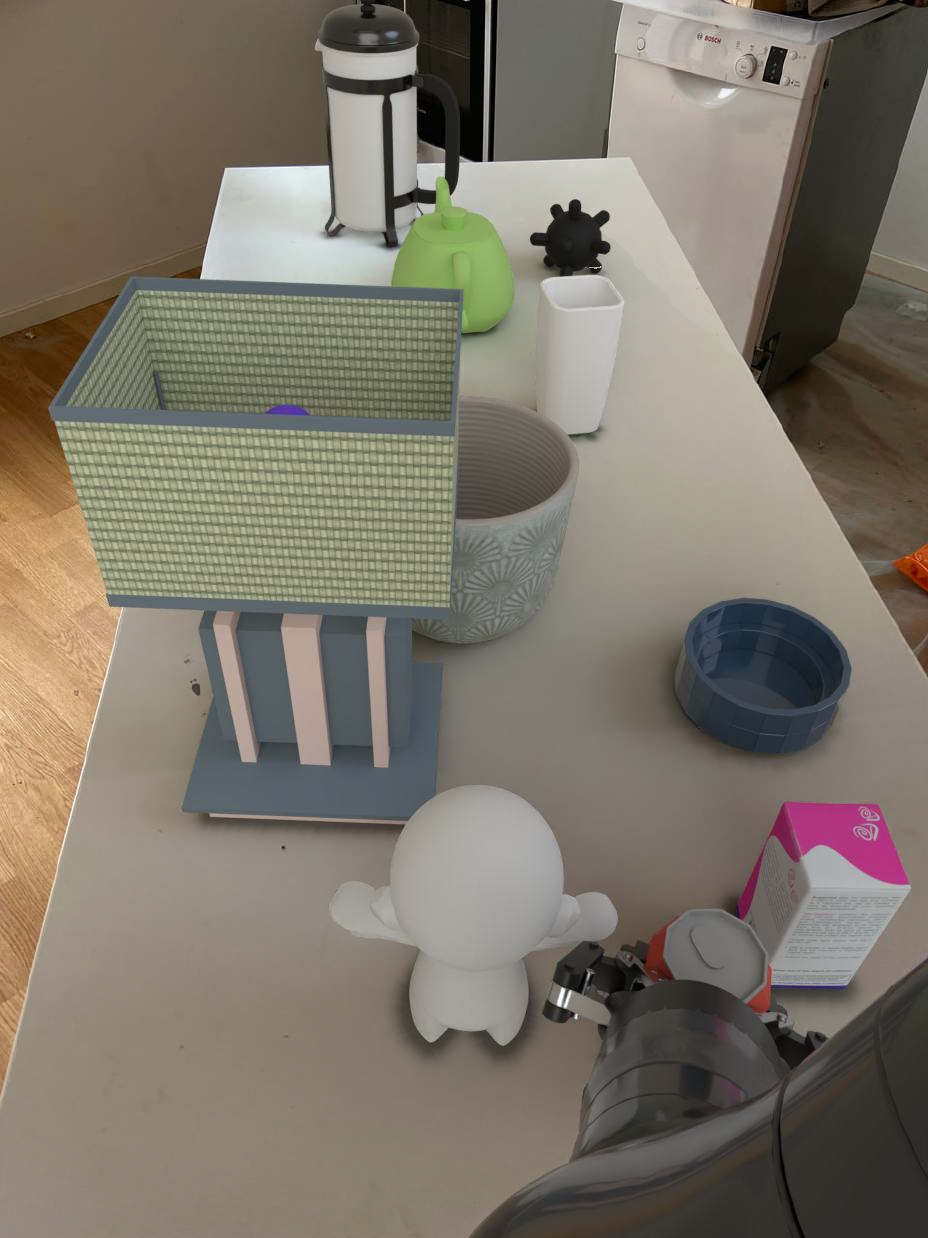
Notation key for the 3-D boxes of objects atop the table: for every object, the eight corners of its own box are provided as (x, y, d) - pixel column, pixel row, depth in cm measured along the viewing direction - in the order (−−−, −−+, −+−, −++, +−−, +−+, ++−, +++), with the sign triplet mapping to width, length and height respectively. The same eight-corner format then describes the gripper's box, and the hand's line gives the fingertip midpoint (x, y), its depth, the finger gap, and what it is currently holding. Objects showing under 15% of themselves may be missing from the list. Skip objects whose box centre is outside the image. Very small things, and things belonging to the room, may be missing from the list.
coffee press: (339, 258, 133) (323, 3, 112) (313, 213, 143) (294, -26, 123) (459, 244, 137) (465, -4, 116) (425, 202, 148) (425, -32, 127)
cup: (542, 445, 101) (555, 311, 91) (525, 408, 106) (536, 277, 96) (609, 439, 102) (629, 306, 92) (589, 403, 107) (606, 272, 97)
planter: (385, 692, 76) (378, 540, 65) (345, 556, 87) (334, 408, 77) (589, 654, 79) (614, 504, 69) (524, 528, 91) (537, 383, 80)
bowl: (857, 692, 77) (878, 648, 73) (786, 787, 70) (805, 743, 67) (721, 621, 82) (734, 577, 79) (643, 702, 76) (654, 657, 72)
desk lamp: (452, 685, 76) (463, 286, 54) (444, 839, 66) (454, 427, 43) (219, 676, 76) (132, 274, 54) (176, 829, 66) (45, 411, 43)
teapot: (385, 275, 129) (381, 173, 120) (496, 272, 131) (501, 170, 122) (398, 357, 113) (396, 246, 104) (525, 352, 115) (533, 242, 106)
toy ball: (634, 243, 131) (624, 254, 121) (572, 292, 136) (556, 307, 126) (588, 176, 129) (573, 181, 119) (527, 228, 134) (507, 238, 124)
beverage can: (691, 988, 59) (735, 882, 51) (747, 1092, 55) (805, 995, 46) (600, 1021, 57) (630, 917, 49) (651, 1130, 53) (694, 1037, 45)
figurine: (595, 956, 60) (645, 754, 46) (605, 1097, 54) (665, 912, 40) (344, 944, 60) (319, 739, 46) (325, 1083, 54) (290, 895, 40)
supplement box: (849, 990, 59) (915, 891, 51) (752, 990, 59) (803, 890, 51) (823, 904, 63) (880, 800, 55) (733, 903, 63) (777, 799, 55)
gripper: (913, 1099, 35) (854, 969, 51) (538, 946, 39) (593, 870, 55) (849, 1296, 35) (811, 1104, 51) (481, 1124, 39) (554, 996, 55)
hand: (698, 983), depth 53 cm, fingers closed on beverage can, 6 cm apart
